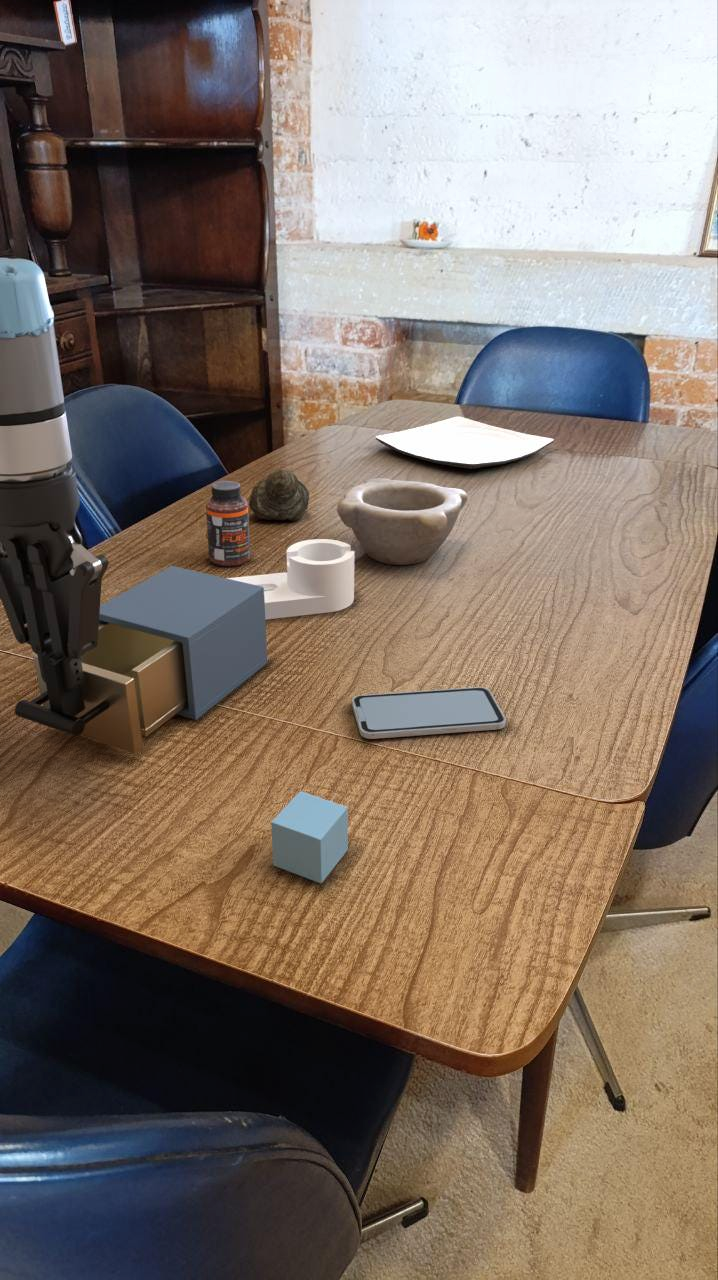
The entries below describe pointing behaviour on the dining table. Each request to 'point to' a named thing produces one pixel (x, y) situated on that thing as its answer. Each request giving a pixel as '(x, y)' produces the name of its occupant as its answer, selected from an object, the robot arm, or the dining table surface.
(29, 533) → the robot arm
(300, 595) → the bracket
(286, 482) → the seashell
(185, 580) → the compartment
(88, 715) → the drawer
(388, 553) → the mortar
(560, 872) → the dining table surface
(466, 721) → the smartphone
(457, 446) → the plate
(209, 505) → the supplement bottle
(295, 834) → the cube
